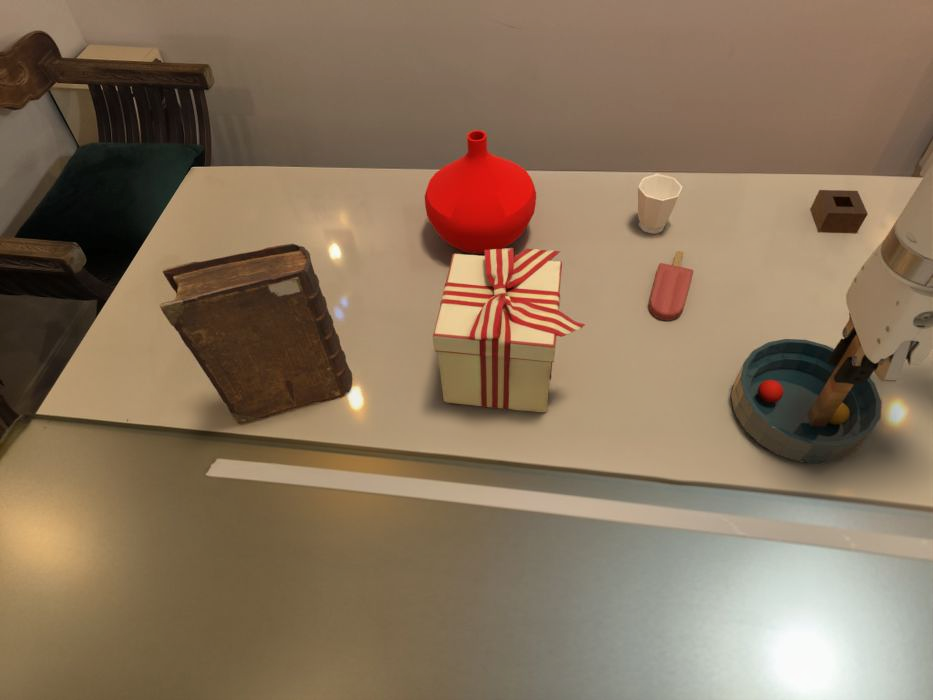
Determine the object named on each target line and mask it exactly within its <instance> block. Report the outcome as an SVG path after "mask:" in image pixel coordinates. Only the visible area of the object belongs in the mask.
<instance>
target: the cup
mask: <svg viewBox="0 0 933 700" xmlns="http://www.w3.org/2000/svg"><path fill="white" fill-rule="evenodd" d="M682 190H683V186H682V184H681V183H680V182H679V181H678V180H677V179H676V178H675V177H673V176H669V175H666V174H665V175H664V174H660V173H653V174H651V175H648V176H644V177H643V178H642V179H641V181H640V183H639V184H638V186H637V214H638V221H639V223H638V227H639V228H640V229H641V230H642V232H644V233H648V234H651V235H654V234H659V233H662V232H663V231H664V228H665V227H666V224H667V222H668V220H669V218H670V216H671V214H672V212H673V210H674V208H675V205H676V203H677V201H678V199H679V196H680V195H681V192H682Z"/></svg>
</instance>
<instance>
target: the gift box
mask: <svg viewBox="0 0 933 700" xmlns="http://www.w3.org/2000/svg"><path fill="white" fill-rule="evenodd" d="M484 252H485V253H484V255H480V254H478V255H477V254H464V253H463V254H462V253H452V255H451V260H450V264H449V268H448V273H447V277H446V279H445V280H446V281H445V283H444V289H443V293H442V297H441V300H440V304H439V306H440V307H439V309H438V314H437V318H436V321H435V326H434V329H433V334H432V343H433V351H434V352H437V356H438V363H439V364H438V365H439V373H440V381H441V389H442V396H443V401H444V402H445V403H448V404H457V405H467V406H476V407H477V406H478V407H483V408H493V409H503V410H516V411H524V412H525V411H526V412H535V413H536V412H537V413H547V410H548V401H549V390H550V389H549V388H550V381H551V380H552V372H553V371H552V369H553V363H554V362H555V356H556V348H557V336H558V337H560V338H561V337H564V336H568V335H570V334H572V333H574V332H576V331H579V330H581V329H583V327H585V326H586V324H585V323H582V322H578V321H576V320H574V319H572V318H571V317H569V315H566V314H565V313H564V312H562V311H560V305H561V293H560V292H561V280H562V268H563V261H558V260H557V261H556V260H552V259H553V258H555V257H556V256H557V255H559V254H560V253H561V250H546V249H537V248H525V249H523V251H521V252H519V253H518V254H516V255H515V256H514V248H513V247H509V248H508V247H505V248H503V249H492V250H484Z"/></svg>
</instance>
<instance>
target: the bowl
mask: <svg viewBox="0 0 933 700" xmlns="http://www.w3.org/2000/svg"><path fill="white" fill-rule="evenodd" d="M834 349H835V348H833V347H831V346H829V345H827V344H824V343H820V342H815V341H812V340H808V339H796V338H795V339H794V338H782V339H778V340H774V341H768V342H766V343H764V344H762V345H761V346H759V347H757V348H755V349H753V350H752V351H751V353H750V354H749V355H748V357H746V358H745V360H744V361H743V363H742V365H741V367H740V369H739V371H738V374H737V375H736V377H735V379H734V383H733V387H732V391H731V396H730V397H731V402H732V407H733V412H734V414H735V416H736V417H737V420H738V421H739V424H740V425H741V426H742V428H743V430H744V431H745V432H747V433H748V434H749V435H750V436H751V438H753V439H754V441H756V442H757V443H758V444H759V445H760V446H762V447H764V448H766V449H767V450H769V451H770V452H772V453H774V454H776V455H778V456H781V457H784V458H787V459H790V460H793V461H796V462H799V463H809V464H810V463H811V464H822V465H823V464H827V463H831V462H836V461H840V460H843V459H845V458H846V457H848V456H849V455H851V454H852V453H854V452H856V451H857V450H858V448H859V447H860V446H862V444H863V443H864V442H865V441H866V440H867V439H868V438H869V436H870V435H871V434H872V433H873V432H874V430H875V428H876V427H877V425H878V423H879V422H880V420H881V418H882V403H883V402H882V399H881V396H880V393H879V390H878V388H877V385H876V383H875V382H874V380H873V379H872V378H871V376H870V377H869V378H868V379H867V381H866V382H865V383H863V384H854V385H853V387H852V388H851V390H850V391H849V393H848V394H847V396H846V397H845V398H844V400H843V401H842V403H844V404H845V405H846V406H847V407H848V409H849V411H850V416H849V419H848V420H847V421H846V422H845V423H843V424H840V425H834V424H830V423H829V422H828V424H827V425H826V427H824V426H810V422H809V418H808V412H809V411H810V409H811V407H812V406H813V404H814V403H815V401H816V399H817V398H818V396H819V394H820V393H821V391H822V389H823V388H824V386H825V384H826V383H827V381H828V380H829V378H830V376H831V375H832V373H833V371H834V370H835V368H836V366H837V365H831V364H829V361H828V358H829V357H830V355H831V353H832V352H833V350H834ZM767 380H774V381H776V382H778V383H779V384H780V385H781V386H782V388H783V396H782V398H781V399H780V400H779V401H777V402H774V403H768V402H765V401H763V400H762V399H761V398H760V397H759V395H758V388H759V386H760V384H761V383H762V382H764V381H767Z"/></svg>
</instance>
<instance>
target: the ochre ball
mask: <svg viewBox="0 0 933 700" xmlns="http://www.w3.org/2000/svg"><path fill="white" fill-rule="evenodd" d="M849 416H850V411H849V409H848V407H847V406H846V405H845V404H844V403H841V404H840V406H839V407H838V409H837V410H836V412H835V413H834V415H833V416H832V418H831V419H830V421H829V423H830V424H834V425H840V424H843V423H845V422H846V421H847V420H848V419H849Z"/></svg>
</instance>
